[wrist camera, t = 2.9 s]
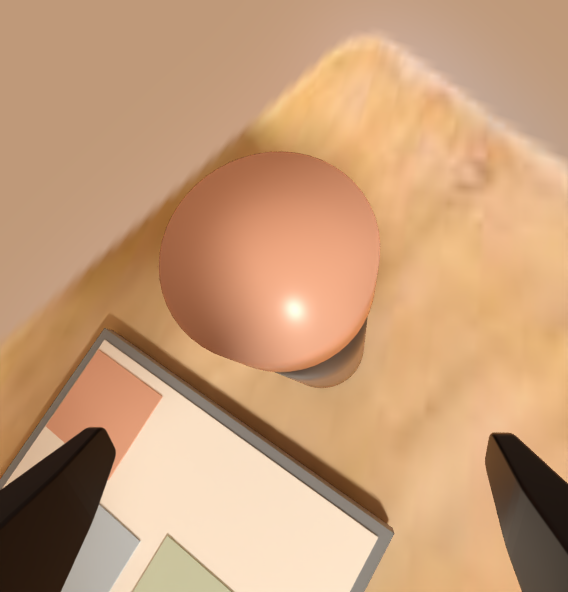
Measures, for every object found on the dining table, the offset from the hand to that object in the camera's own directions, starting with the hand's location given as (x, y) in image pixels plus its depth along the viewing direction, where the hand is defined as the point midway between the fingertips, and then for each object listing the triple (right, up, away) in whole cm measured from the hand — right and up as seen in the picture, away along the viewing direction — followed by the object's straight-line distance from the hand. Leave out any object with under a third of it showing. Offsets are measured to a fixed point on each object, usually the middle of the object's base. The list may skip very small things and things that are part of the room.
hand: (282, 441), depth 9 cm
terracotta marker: (+2, +1, +11) cm, 11 cm away
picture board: (-6, -8, +10) cm, 14 cm away
